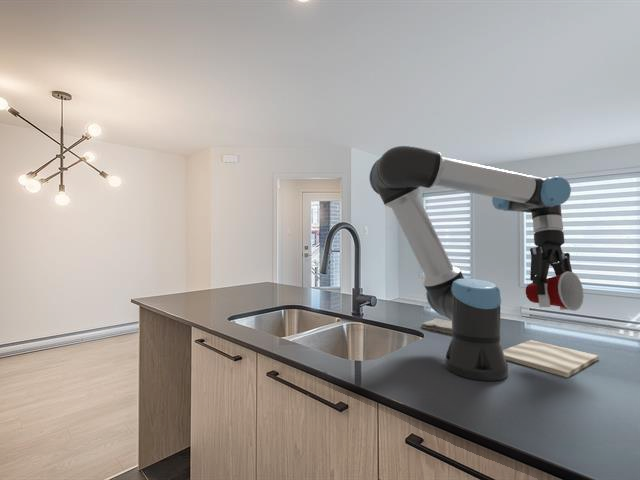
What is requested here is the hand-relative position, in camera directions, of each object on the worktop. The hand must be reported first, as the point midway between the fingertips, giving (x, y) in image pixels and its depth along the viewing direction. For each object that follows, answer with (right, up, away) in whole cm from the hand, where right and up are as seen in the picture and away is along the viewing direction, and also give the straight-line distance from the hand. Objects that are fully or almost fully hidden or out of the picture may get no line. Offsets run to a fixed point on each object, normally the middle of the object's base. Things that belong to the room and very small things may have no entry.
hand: (555, 308), depth 96 cm
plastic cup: (-2, +3, +7) cm, 8 cm away
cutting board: (-2, -15, +1) cm, 15 cm away
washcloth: (-18, -16, +33) cm, 40 cm away
